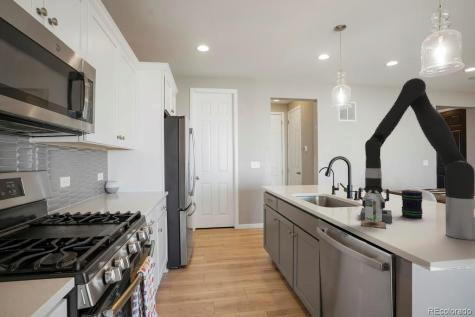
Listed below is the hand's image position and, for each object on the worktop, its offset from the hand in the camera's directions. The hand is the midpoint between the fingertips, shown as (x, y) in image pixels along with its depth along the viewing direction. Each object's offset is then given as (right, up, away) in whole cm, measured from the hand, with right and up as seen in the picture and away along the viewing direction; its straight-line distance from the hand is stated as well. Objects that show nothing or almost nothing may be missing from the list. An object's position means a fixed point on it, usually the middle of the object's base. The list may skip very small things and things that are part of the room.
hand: (373, 208), depth 125 cm
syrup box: (0, -7, 0) cm, 7 cm away
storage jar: (+31, -8, +15) cm, 36 cm away
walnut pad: (0, -8, 0) cm, 8 cm away
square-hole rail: (+8, -8, +12) cm, 17 cm away
